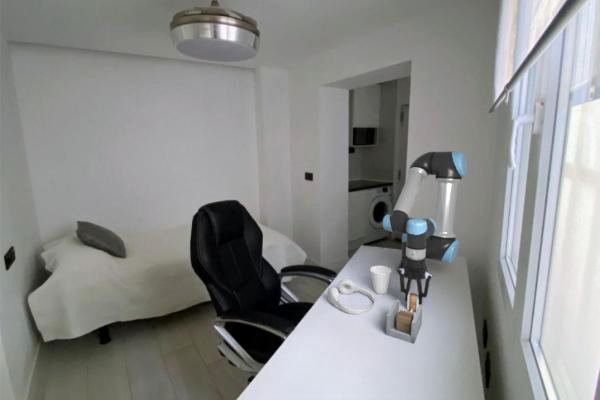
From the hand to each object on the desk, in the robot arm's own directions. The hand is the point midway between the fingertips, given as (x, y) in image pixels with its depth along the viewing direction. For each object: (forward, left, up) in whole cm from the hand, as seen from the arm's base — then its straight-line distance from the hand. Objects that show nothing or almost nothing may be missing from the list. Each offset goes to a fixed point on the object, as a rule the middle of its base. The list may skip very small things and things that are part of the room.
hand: (413, 309), depth 127 cm
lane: (+15, 0, 0) cm, 15 cm away
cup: (-9, -17, -1) cm, 19 cm away
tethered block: (+8, 0, 0) cm, 8 cm away
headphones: (+7, -25, -1) cm, 26 cm away
